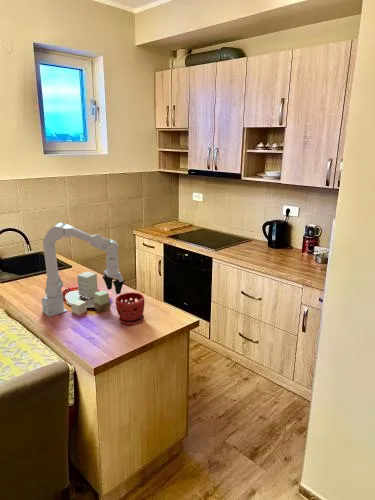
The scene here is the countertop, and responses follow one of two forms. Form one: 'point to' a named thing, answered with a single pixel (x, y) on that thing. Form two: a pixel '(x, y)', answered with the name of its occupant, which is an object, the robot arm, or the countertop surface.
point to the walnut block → (102, 307)
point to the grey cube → (78, 307)
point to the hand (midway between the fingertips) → (113, 291)
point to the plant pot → (130, 308)
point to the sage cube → (101, 297)
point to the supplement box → (87, 284)
